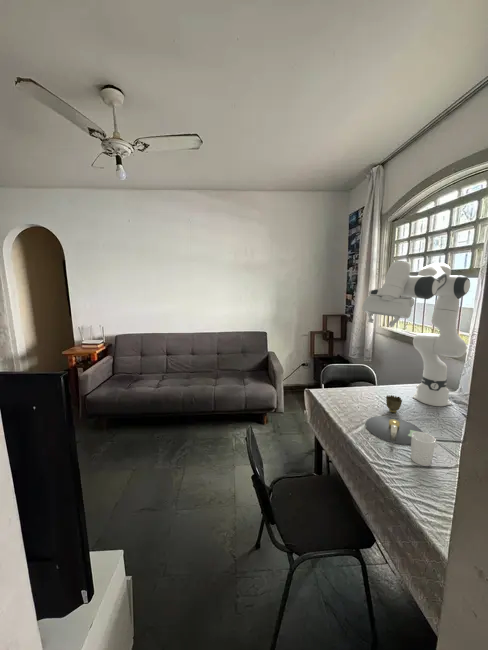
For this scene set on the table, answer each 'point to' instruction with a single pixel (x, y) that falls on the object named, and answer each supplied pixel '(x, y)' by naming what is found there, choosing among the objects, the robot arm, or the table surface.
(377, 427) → the dial
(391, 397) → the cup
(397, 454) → the table surface
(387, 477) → the table surface
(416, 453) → the white cup
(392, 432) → the needle
